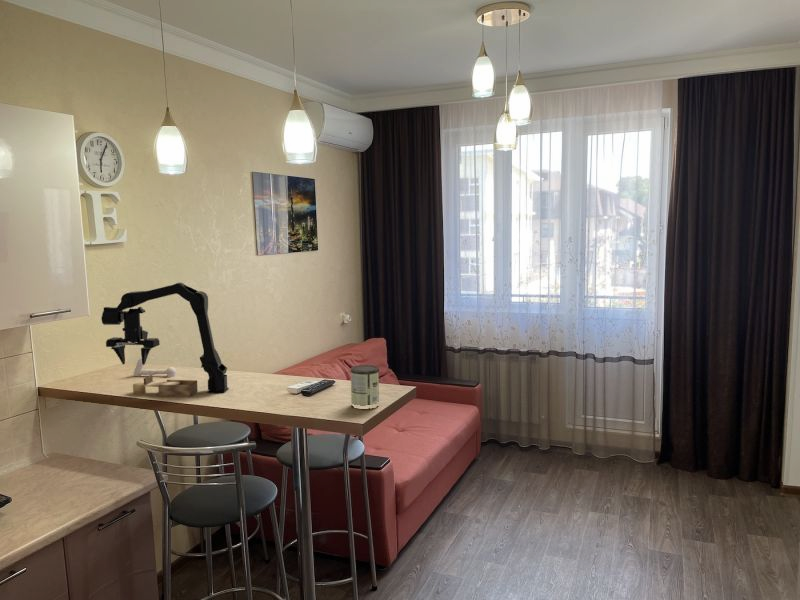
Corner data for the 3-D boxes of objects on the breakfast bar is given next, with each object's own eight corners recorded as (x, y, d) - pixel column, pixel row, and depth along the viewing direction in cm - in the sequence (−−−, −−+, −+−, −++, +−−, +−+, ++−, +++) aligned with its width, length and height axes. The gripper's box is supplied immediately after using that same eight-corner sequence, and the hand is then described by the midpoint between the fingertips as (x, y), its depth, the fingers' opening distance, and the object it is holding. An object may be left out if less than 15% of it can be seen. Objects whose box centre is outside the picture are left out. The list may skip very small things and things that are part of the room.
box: (197, 391, 238) (197, 380, 237) (189, 396, 230) (189, 385, 229) (167, 390, 239) (167, 379, 238) (158, 396, 231) (158, 384, 230)
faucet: (170, 388, 261) (177, 367, 260) (131, 374, 260) (138, 353, 259) (174, 385, 265) (180, 364, 264) (135, 372, 264) (141, 351, 263)
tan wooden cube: (147, 391, 237) (147, 383, 237) (142, 394, 233) (141, 385, 232) (136, 391, 237) (136, 382, 237) (131, 394, 233) (130, 385, 233)
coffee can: (355, 401, 226) (355, 364, 224) (382, 403, 223) (382, 365, 222) (347, 408, 216) (346, 370, 214) (374, 411, 213) (374, 372, 212)
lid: (179, 383, 237) (179, 375, 237) (173, 387, 231) (173, 379, 231) (150, 382, 237) (150, 375, 237) (143, 386, 232) (142, 378, 231)
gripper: (164, 321, 240) (166, 360, 242) (119, 321, 241) (120, 359, 243) (152, 326, 229) (153, 366, 231) (104, 325, 230) (106, 365, 232)
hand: (133, 364), depth 234 cm, fingers open, 8 cm apart
